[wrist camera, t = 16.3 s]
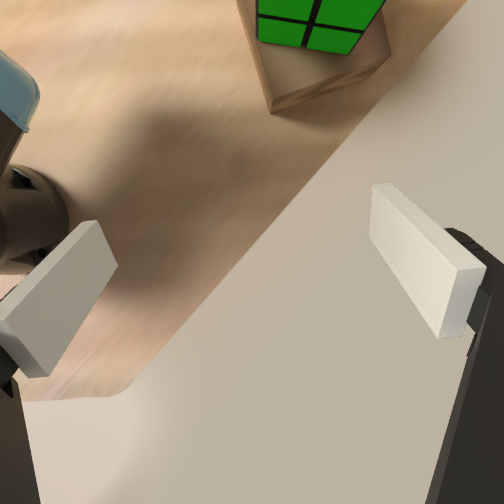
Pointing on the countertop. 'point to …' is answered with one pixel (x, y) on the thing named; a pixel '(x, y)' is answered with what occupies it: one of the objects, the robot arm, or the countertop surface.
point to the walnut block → (311, 63)
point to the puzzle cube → (315, 22)
